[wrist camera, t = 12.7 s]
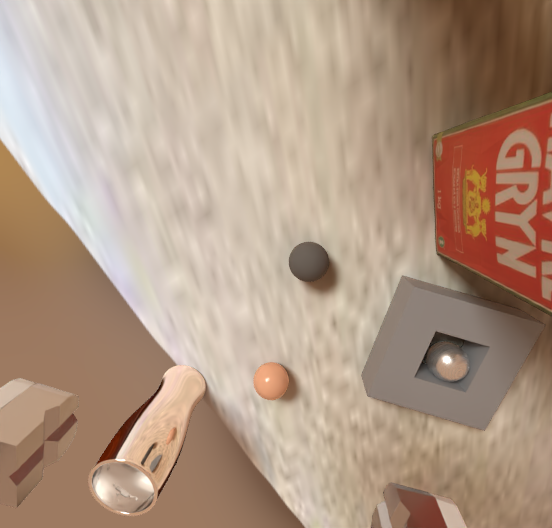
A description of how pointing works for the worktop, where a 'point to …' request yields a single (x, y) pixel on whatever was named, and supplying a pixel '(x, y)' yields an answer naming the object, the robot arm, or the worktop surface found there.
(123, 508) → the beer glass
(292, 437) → the worktop surface
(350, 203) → the worktop surface
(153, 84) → the worktop surface
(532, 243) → the food packaging
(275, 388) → the terracotta ball
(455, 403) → the housing
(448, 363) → the steel ball
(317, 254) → the black rubber ball
